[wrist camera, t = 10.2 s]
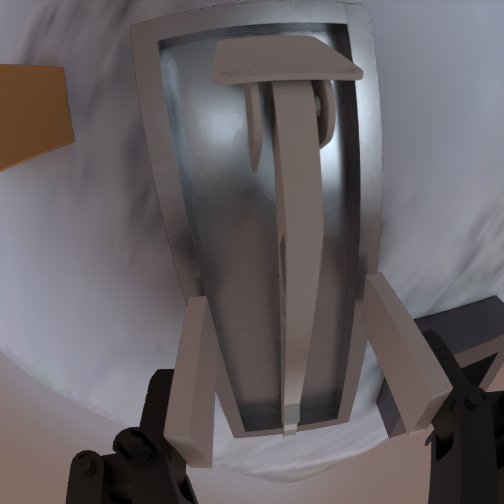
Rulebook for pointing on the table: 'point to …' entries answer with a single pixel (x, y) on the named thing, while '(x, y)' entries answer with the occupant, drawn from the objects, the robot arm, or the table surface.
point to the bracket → (291, 172)
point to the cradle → (263, 202)
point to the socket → (459, 349)
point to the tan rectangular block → (32, 112)
